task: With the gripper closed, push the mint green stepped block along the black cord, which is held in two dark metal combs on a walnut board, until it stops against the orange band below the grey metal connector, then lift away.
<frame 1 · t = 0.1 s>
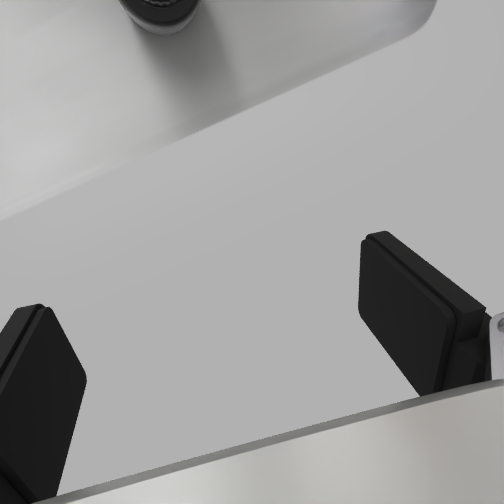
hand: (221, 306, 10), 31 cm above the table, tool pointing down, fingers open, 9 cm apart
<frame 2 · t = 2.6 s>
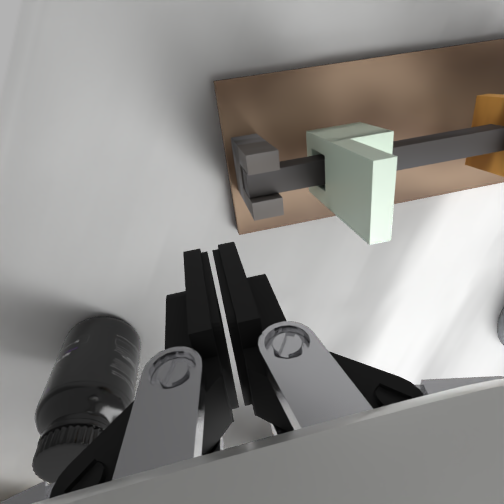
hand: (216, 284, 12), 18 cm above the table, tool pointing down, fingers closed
mint green stepped block: (363, 174, 21), point 8 cm above the table, slide at 0.0 cm
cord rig: (382, 136, 29), on the table
supplement bottle: (105, 340, 34), on the table
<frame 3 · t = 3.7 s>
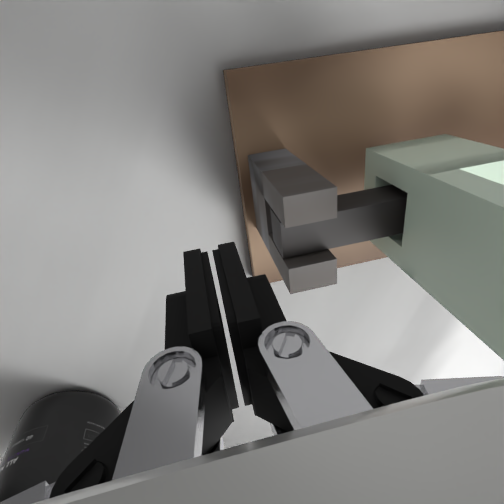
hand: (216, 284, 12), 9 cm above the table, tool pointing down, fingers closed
mint green stepped block: (473, 224, 13), point 8 cm above the table, slide at 0.0 cm
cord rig: (456, 149, 21), on the table
supplement bottle: (75, 417, 25), on the table
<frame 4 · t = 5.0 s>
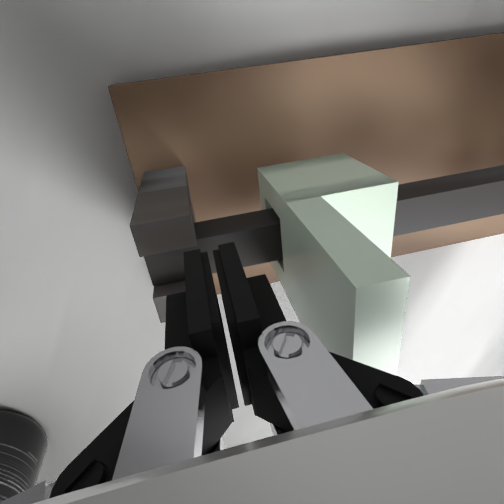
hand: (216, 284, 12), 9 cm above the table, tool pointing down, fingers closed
mint green stepped block: (345, 252, 12), point 8 cm above the table, slide at 0.1 cm, touching gripper
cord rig: (376, 165, 20), on the table
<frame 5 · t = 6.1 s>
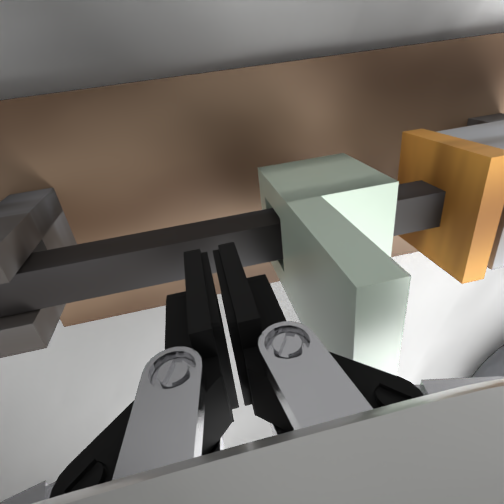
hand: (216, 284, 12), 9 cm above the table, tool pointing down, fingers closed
mint green stepped block: (346, 252, 12), point 8 cm above the table, slide at 6.4 cm, touching gripper
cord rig: (274, 183, 20), on the table
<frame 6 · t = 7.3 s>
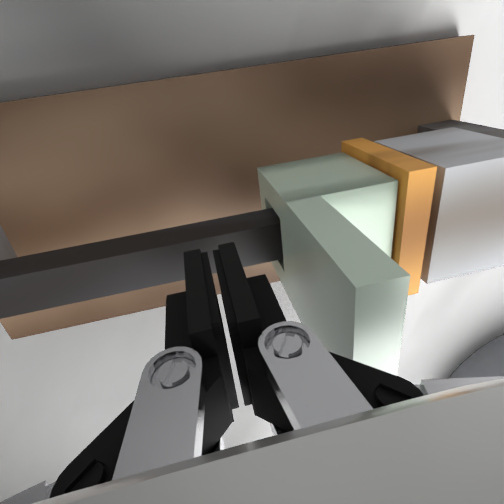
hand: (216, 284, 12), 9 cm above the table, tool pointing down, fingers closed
mint green stepped block: (346, 252, 12), point 8 cm above the table, slide at 9.4 cm, touching gripper
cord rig: (222, 193, 19), on the table
tape roll: (503, 378, 35), on the table
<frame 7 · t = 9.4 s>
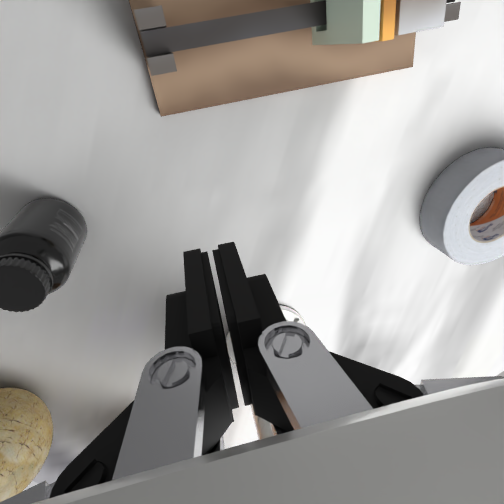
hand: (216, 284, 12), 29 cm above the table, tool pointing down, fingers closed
mint green stepped block: (357, 6, 26), point 8 cm above the table, slide at 9.4 cm
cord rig: (282, 21, 33), on the table
supplement bottle: (55, 224, 38), on the table
tape roll: (467, 200, 49), on the table
fossilized egg: (15, 396, 49), on the table
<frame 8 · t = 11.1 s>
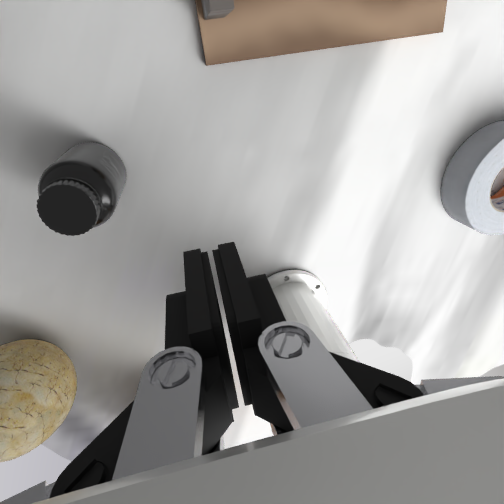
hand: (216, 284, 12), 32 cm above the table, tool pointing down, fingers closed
supplement bottle: (95, 171, 40), on the table
tape roll: (486, 174, 51), on the table
fossilized egg: (38, 352, 50), on the table
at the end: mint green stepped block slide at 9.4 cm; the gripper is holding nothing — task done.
